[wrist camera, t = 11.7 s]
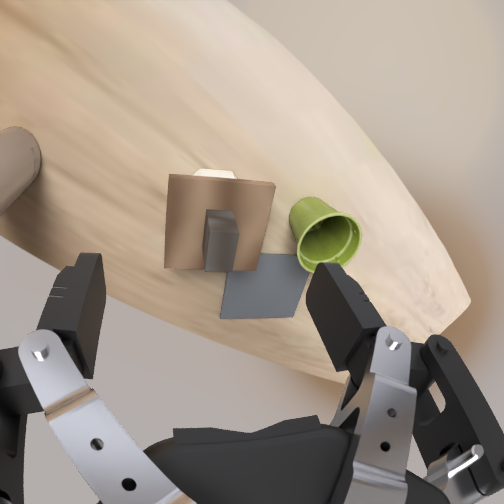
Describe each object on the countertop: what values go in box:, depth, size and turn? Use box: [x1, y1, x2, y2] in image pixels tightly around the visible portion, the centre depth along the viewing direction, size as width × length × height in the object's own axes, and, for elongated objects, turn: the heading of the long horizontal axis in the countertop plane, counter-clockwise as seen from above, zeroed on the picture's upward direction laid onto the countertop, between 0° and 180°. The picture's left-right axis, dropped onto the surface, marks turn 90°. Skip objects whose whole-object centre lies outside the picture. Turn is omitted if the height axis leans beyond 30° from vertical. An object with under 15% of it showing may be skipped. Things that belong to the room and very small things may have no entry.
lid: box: [164, 174, 276, 272], centre depth 35 cm, size 12×12×6 cm
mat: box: [220, 253, 309, 319], centre depth 53 cm, size 14×14×1 cm
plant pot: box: [289, 197, 362, 273], centre depth 43 cm, size 9×9×9 cm
